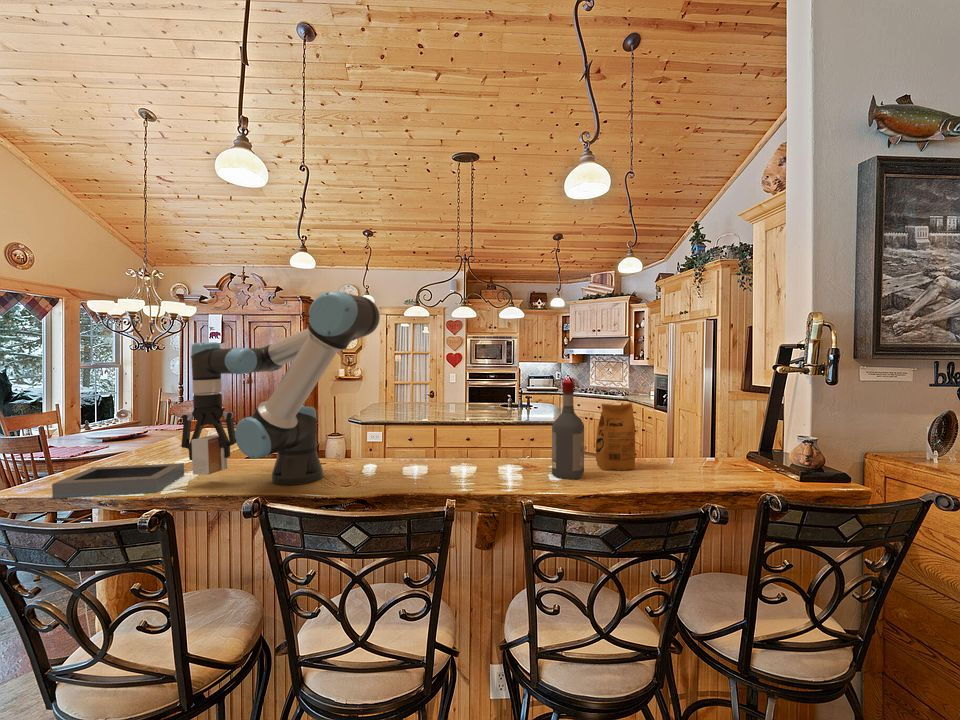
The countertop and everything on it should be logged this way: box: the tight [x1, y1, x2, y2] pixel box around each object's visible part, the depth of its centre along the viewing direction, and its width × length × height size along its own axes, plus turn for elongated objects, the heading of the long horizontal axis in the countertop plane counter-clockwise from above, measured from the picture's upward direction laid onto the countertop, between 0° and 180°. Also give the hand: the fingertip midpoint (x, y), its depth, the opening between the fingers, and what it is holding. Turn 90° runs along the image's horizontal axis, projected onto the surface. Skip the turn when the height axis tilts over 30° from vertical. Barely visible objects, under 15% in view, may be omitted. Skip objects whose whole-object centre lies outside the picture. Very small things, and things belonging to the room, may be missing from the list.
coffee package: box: [595, 403, 636, 472], centre depth 160 cm, size 10×12×22 cm
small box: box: [191, 434, 228, 476], centre depth 141 cm, size 8×6×10 cm
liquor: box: [551, 381, 585, 481], centre depth 150 cm, size 9×9×30 cm
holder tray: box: [51, 462, 185, 499], centre depth 141 cm, size 26×18×4 cm
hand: (210, 469), depth 141 cm, fingers closed on small box, 7 cm apart
